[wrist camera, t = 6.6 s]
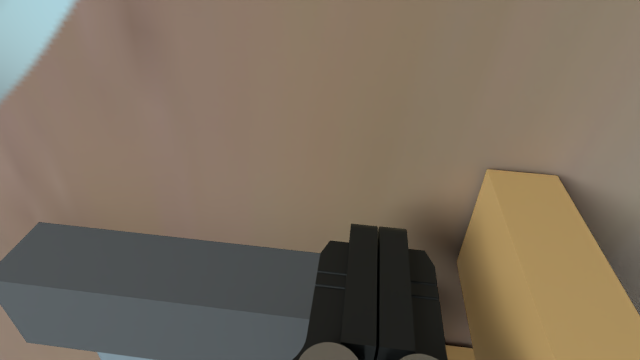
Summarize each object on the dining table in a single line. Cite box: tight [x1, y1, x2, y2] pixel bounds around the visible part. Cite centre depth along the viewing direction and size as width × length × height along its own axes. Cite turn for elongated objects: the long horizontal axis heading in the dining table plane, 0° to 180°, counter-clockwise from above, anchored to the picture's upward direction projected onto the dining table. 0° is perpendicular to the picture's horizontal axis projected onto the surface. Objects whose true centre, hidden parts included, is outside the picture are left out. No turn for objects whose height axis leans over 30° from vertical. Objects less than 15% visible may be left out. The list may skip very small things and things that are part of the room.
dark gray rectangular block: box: [0, 222, 321, 360], centre depth 16 cm, size 14×4×3 cm, turn 88°
